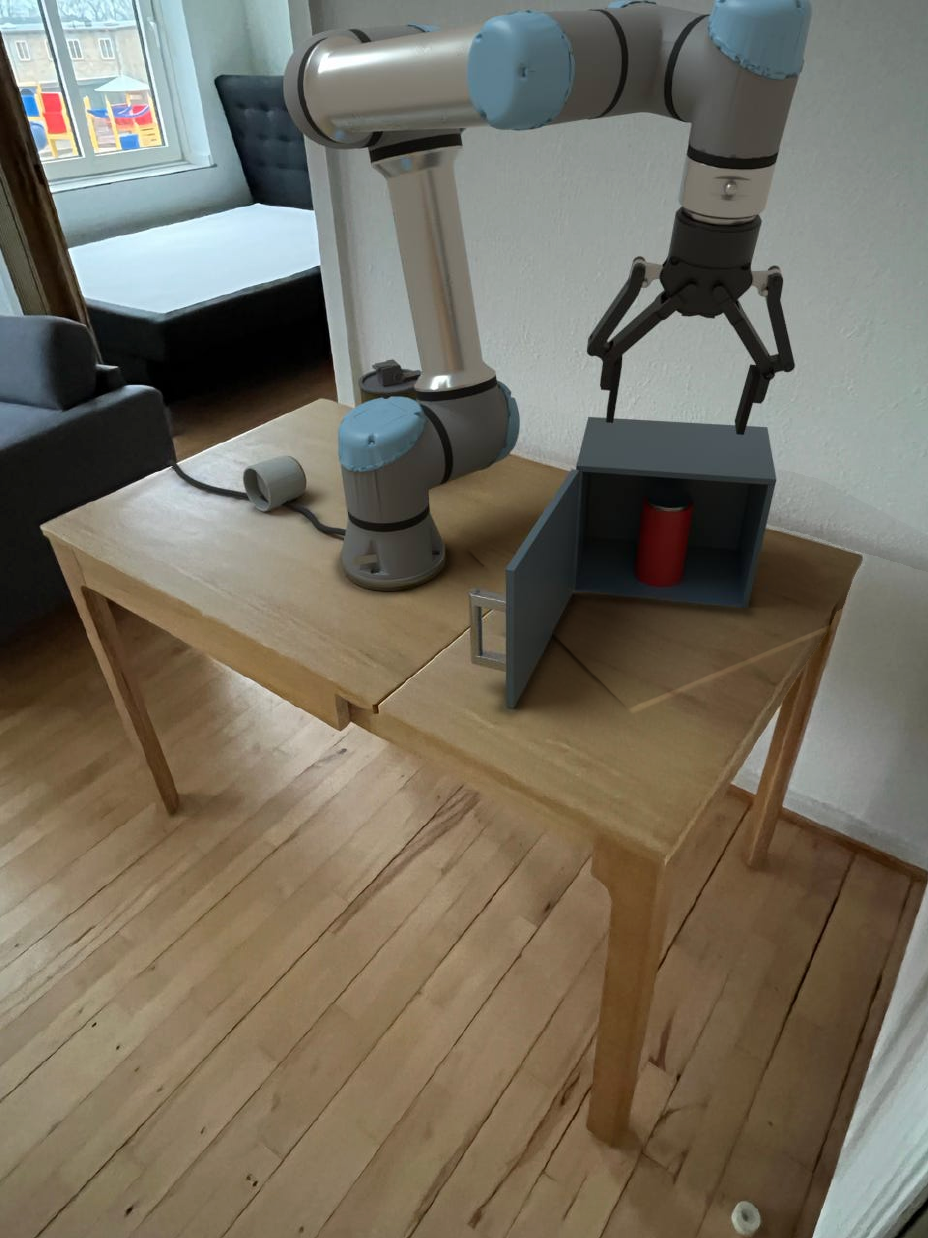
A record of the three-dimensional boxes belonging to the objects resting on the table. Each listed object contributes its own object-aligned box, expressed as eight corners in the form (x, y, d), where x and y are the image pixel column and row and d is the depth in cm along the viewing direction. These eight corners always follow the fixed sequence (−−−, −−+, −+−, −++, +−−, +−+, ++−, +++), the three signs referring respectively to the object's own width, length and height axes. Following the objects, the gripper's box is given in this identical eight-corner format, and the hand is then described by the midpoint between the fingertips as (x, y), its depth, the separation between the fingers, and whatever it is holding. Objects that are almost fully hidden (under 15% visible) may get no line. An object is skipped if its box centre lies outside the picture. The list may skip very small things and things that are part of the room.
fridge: (747, 612, 108) (776, 479, 96) (569, 594, 112) (576, 465, 100) (741, 552, 119) (767, 426, 107) (580, 538, 124) (588, 416, 112)
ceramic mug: (313, 498, 136) (305, 456, 132) (273, 517, 132) (264, 474, 127) (274, 481, 142) (266, 440, 138) (235, 499, 138) (225, 457, 133)
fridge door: (464, 696, 96) (458, 559, 84) (529, 588, 113) (531, 462, 102) (513, 709, 94) (514, 570, 82) (571, 597, 111) (579, 469, 100)
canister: (380, 495, 137) (368, 379, 125) (361, 470, 144) (347, 358, 132) (440, 481, 140) (433, 367, 128) (417, 457, 148) (409, 347, 136)
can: (625, 569, 115) (633, 492, 108) (662, 556, 118) (672, 480, 110) (654, 592, 111) (664, 514, 103) (692, 578, 113) (705, 501, 105)
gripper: (575, 215, 70) (554, 429, 85) (874, 235, 68) (798, 452, 83) (580, 187, 76) (559, 394, 91) (858, 204, 73) (789, 414, 88)
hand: (673, 422), depth 87 cm, fingers open, 13 cm apart
